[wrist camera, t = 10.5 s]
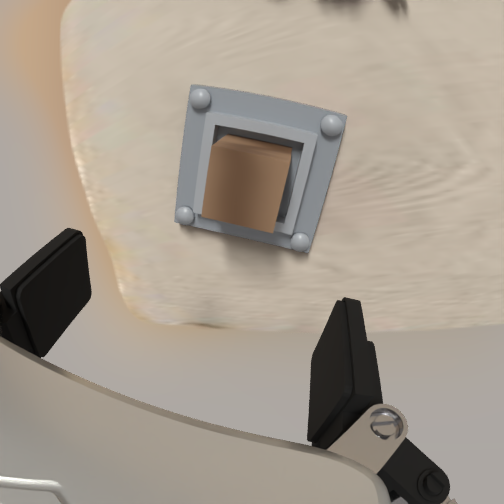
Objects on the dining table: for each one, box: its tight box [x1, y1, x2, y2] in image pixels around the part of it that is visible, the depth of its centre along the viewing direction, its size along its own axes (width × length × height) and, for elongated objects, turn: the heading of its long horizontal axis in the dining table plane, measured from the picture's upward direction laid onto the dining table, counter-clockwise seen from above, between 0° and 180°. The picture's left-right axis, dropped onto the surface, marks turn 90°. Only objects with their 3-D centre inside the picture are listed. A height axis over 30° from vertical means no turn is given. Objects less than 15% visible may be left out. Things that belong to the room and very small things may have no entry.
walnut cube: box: [201, 134, 292, 233], centre depth 23 cm, size 5×5×5 cm
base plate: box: [174, 85, 347, 253], centre depth 25 cm, size 12×12×2 cm
